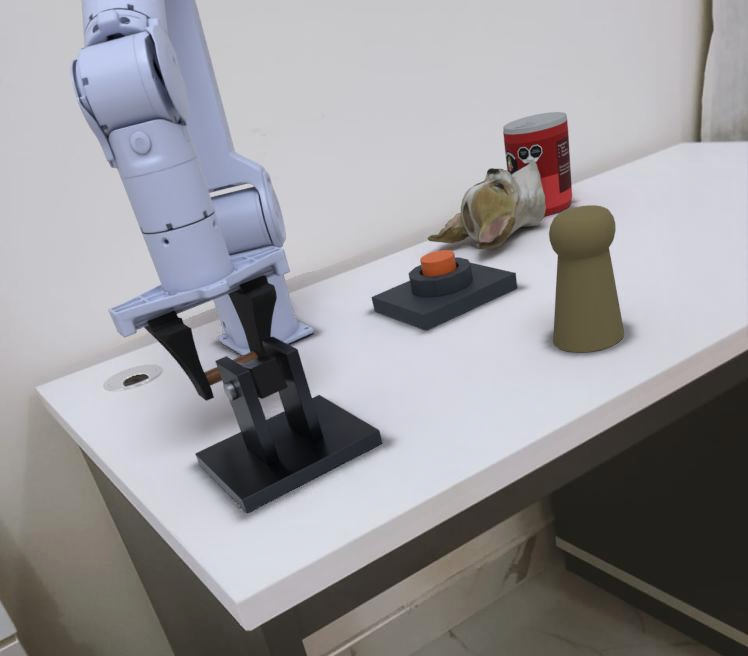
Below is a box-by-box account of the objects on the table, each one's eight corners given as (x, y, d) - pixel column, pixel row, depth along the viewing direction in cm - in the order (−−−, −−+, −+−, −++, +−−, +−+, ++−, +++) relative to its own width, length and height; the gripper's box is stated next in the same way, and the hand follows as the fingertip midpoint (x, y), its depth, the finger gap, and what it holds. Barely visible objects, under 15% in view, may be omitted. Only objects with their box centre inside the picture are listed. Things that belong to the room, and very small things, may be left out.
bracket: (199, 465, 62) (160, 369, 57) (322, 406, 66) (295, 312, 61) (247, 513, 55) (206, 407, 50) (382, 443, 59) (357, 339, 54)
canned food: (502, 212, 103) (492, 126, 97) (555, 196, 104) (548, 109, 98) (528, 222, 97) (519, 131, 91) (583, 205, 98) (578, 113, 92)
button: (416, 275, 80) (413, 259, 79) (443, 264, 81) (440, 248, 80) (436, 281, 77) (433, 264, 76) (463, 269, 78) (461, 252, 78)
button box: (374, 311, 83) (367, 281, 81) (460, 273, 87) (455, 243, 85) (426, 330, 75) (420, 297, 73) (517, 288, 79) (514, 255, 77)
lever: (207, 393, 63) (195, 366, 63) (259, 370, 65) (248, 343, 64) (245, 407, 55) (233, 376, 54) (304, 379, 57) (293, 349, 56)
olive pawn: (626, 347, 63) (622, 214, 57) (552, 355, 65) (541, 227, 58) (622, 319, 68) (618, 192, 62) (553, 327, 69) (542, 205, 63)
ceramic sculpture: (565, 147, 88) (471, 196, 83) (574, 220, 93) (485, 270, 88) (502, 147, 96) (413, 191, 91) (513, 215, 101) (429, 260, 96)
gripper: (99, 261, 51) (171, 433, 58) (284, 194, 56) (329, 361, 63) (76, 248, 56) (145, 407, 64) (247, 189, 61) (293, 343, 69)
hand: (235, 383), depth 64 cm, fingers closed on lever, 5 cm apart
